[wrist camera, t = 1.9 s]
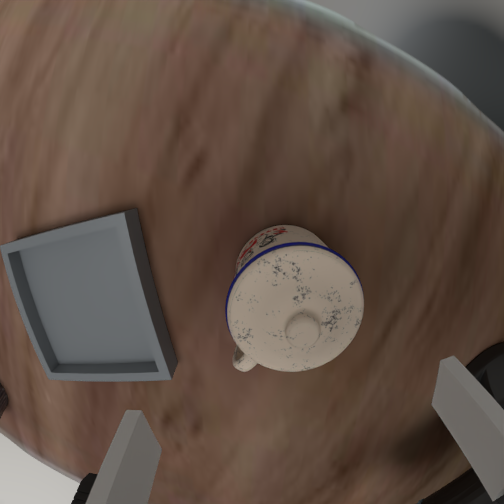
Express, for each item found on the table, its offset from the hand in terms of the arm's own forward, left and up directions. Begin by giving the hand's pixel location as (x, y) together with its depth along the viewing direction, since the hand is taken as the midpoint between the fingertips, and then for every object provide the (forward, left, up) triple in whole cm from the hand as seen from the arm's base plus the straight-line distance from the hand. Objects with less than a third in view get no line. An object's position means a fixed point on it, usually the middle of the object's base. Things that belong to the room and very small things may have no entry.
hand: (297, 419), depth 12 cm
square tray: (+19, -1, -17) cm, 26 cm away
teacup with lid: (0, 0, -17) cm, 17 cm away
